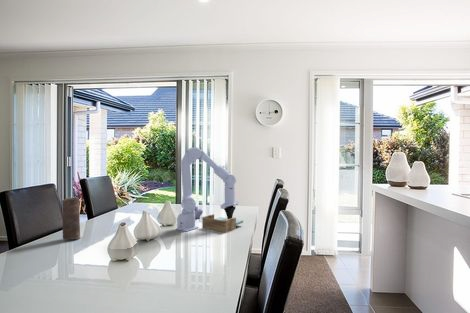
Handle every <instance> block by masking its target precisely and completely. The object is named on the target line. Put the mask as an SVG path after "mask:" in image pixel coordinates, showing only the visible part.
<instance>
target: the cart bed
mask: <svg viewBox="0 0 470 313" xmlns="http://www.w3.org/2000/svg"><path fill="white" fill-rule="evenodd" d="M201 219H202V220H201V221H202V224H201V228H202V229H206V230H211V231H217V232H223V233H228V232H229V233H230V231H233V230H237V225H236V219H237V217H236V216H235V217H232V218H231V219H227V220H224V221H222V220H216V218H215V214H208V215H205V216H202V217H201Z"/></svg>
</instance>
